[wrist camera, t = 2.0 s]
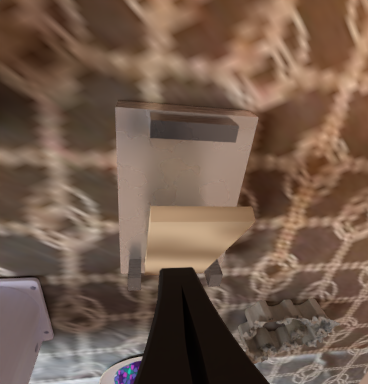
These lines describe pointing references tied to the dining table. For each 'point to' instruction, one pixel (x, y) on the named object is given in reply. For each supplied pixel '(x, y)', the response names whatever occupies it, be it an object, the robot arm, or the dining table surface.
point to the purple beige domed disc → (121, 372)
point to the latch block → (176, 168)
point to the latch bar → (192, 235)
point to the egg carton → (283, 328)
